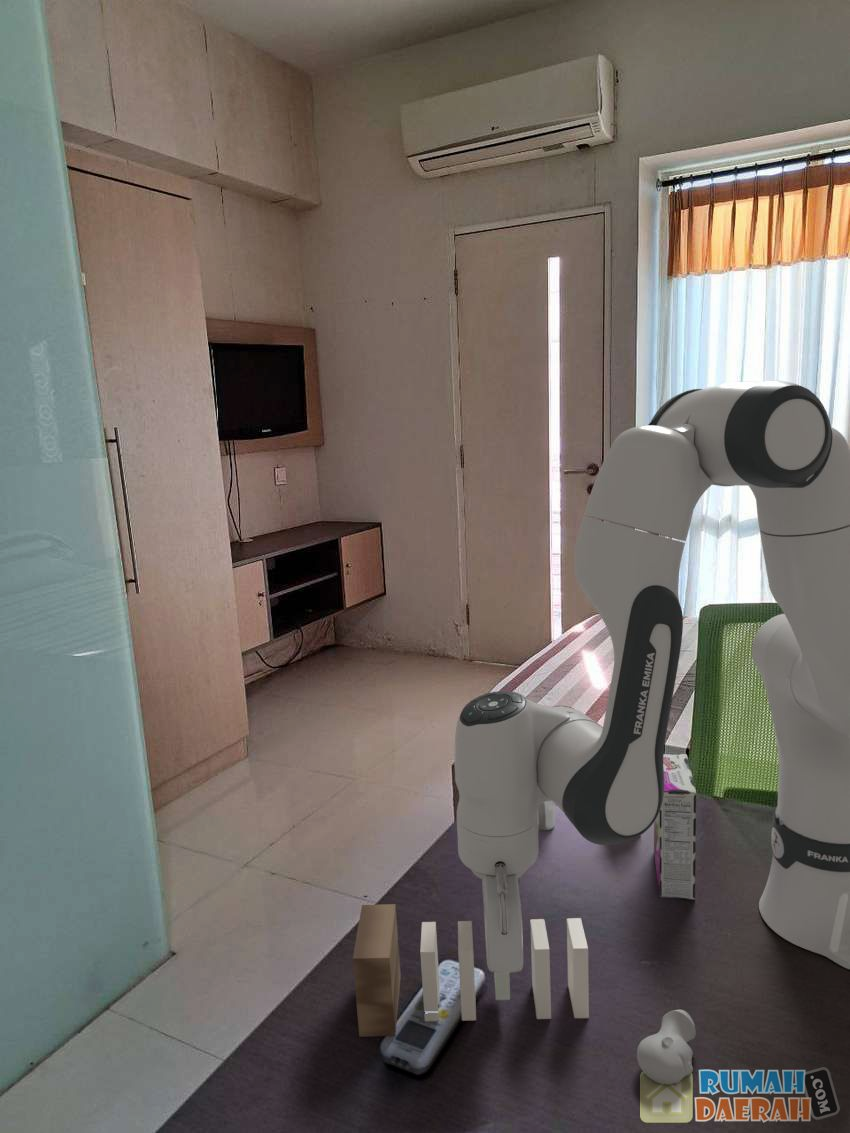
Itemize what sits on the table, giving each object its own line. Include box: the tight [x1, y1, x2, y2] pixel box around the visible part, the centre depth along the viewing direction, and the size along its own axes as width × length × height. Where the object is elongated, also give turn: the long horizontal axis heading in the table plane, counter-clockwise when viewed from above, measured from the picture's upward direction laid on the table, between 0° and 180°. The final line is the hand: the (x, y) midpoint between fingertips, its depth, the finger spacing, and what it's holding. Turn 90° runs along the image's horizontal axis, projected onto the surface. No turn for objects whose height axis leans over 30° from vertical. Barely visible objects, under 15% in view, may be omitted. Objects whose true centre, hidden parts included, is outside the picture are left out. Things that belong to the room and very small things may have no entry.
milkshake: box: [538, 800, 557, 832], centre depth 125 cm, size 4×5×10 cm
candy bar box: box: [653, 752, 697, 901], centre depth 109 cm, size 11×5×16 cm, turn 168°
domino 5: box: [566, 917, 590, 1019], centre depth 89 cm, size 2×5×9 cm, turn 178°
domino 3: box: [493, 972, 511, 1001], centre depth 88 cm, size 2×5×9 cm, turn 178°
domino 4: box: [529, 918, 552, 1020], centre depth 89 cm, size 2×5×9 cm, turn 178°
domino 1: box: [420, 921, 441, 1022], centre depth 89 cm, size 2×5×9 cm, turn 178°
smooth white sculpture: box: [636, 1009, 697, 1086], centre depth 80 cm, size 4×8×5 cm
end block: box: [352, 903, 402, 1038], centre depth 89 cm, size 4×9×10 cm, turn 178°
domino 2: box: [457, 920, 477, 1022], centre depth 89 cm, size 2×5×9 cm, turn 178°
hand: (501, 948), depth 88 cm, fingers closed on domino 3, 5 cm apart
